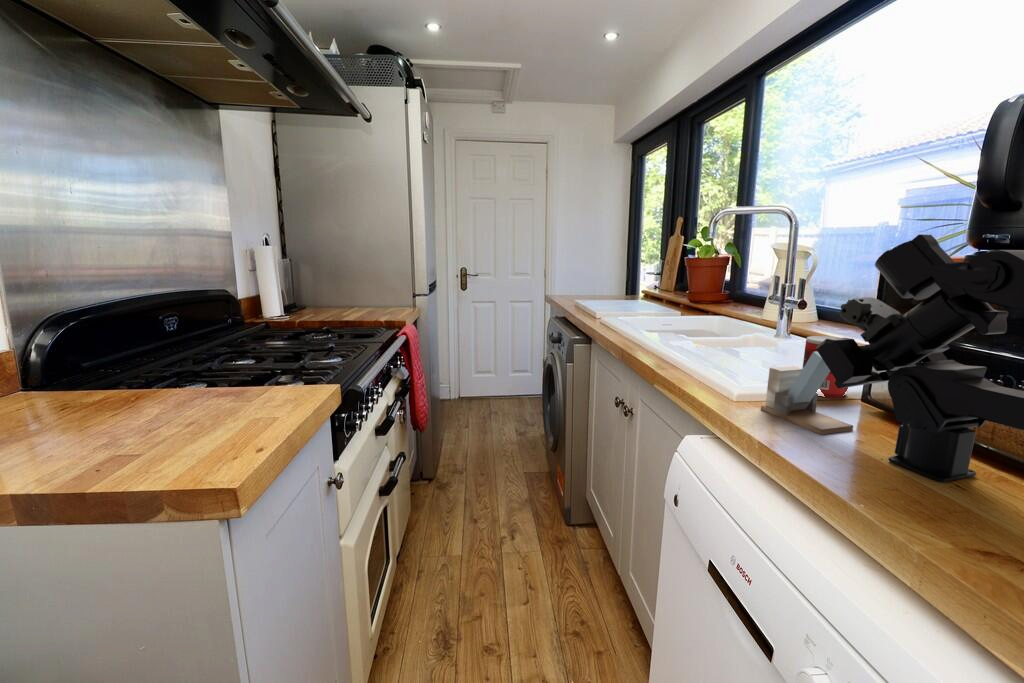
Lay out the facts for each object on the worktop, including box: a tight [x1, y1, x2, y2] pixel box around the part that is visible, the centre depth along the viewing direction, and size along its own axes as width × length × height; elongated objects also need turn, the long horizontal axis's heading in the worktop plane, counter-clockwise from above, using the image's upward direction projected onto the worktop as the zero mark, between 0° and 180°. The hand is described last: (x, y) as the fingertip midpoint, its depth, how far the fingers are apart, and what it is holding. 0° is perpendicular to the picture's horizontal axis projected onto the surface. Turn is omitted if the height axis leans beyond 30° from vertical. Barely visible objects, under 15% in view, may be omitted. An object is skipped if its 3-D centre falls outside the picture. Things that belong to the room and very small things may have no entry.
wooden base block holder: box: [760, 365, 854, 435], centre depth 78 cm, size 12×6×8 cm, turn 16°
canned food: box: [802, 335, 849, 399], centre depth 93 cm, size 8×8×11 cm
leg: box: [787, 351, 830, 411], centre depth 78 cm, size 2×4×11 cm, turn 106°
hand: (837, 385), depth 73 cm, fingers closed
